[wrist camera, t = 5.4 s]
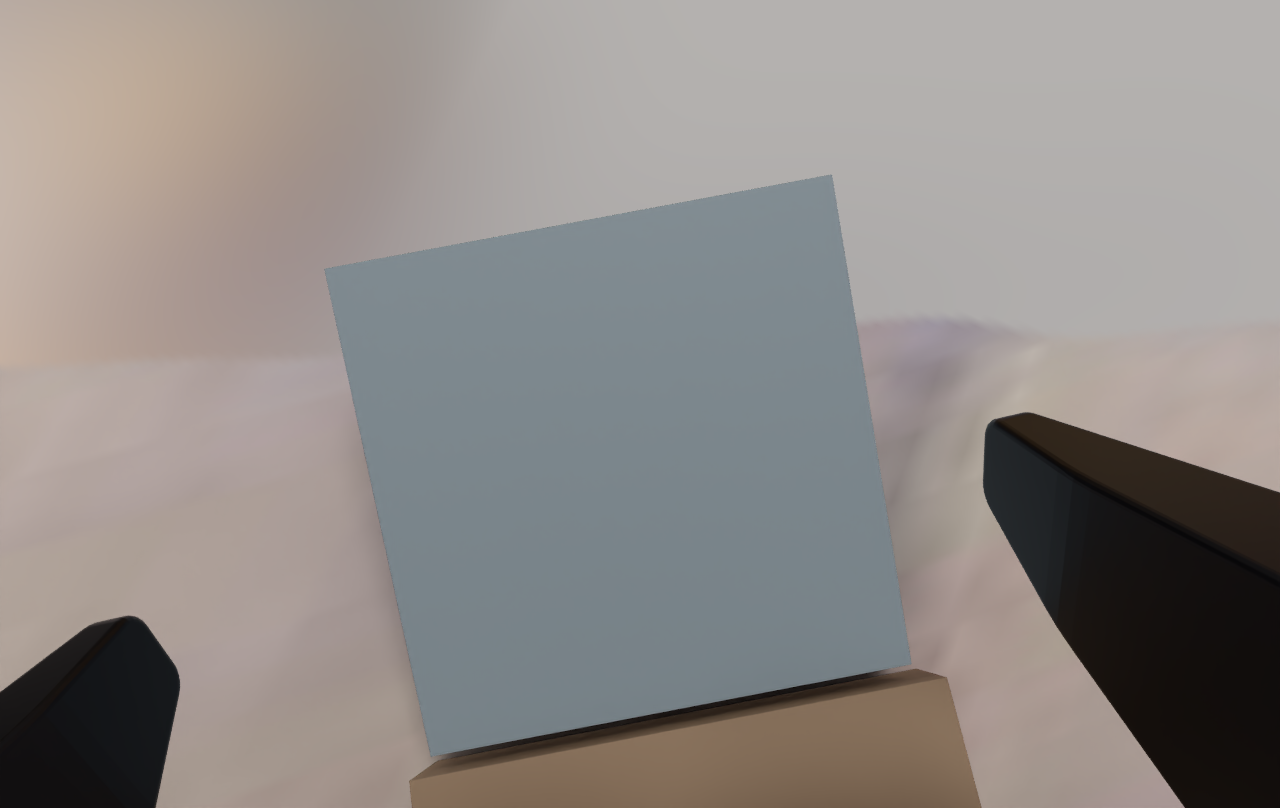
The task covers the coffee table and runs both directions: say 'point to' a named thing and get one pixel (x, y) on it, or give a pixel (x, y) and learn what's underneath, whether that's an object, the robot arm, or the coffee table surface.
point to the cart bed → (738, 757)
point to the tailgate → (623, 463)
